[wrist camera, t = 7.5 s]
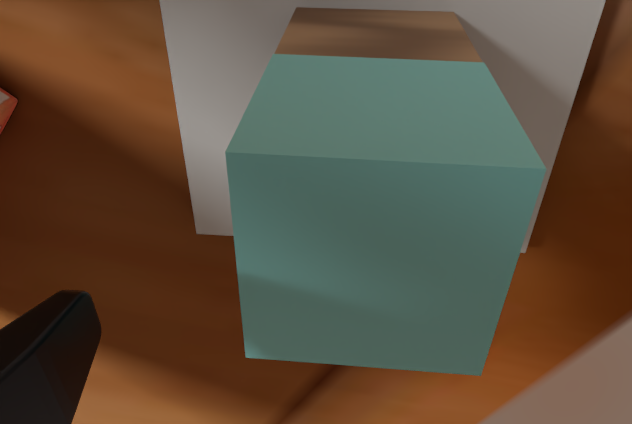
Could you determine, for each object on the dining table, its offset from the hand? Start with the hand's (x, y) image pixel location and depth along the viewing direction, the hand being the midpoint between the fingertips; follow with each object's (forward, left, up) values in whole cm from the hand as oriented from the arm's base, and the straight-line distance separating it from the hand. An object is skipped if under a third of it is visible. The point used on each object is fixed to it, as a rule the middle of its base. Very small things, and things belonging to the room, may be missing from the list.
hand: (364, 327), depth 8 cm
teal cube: (0, 0, -6) cm, 6 cm away
